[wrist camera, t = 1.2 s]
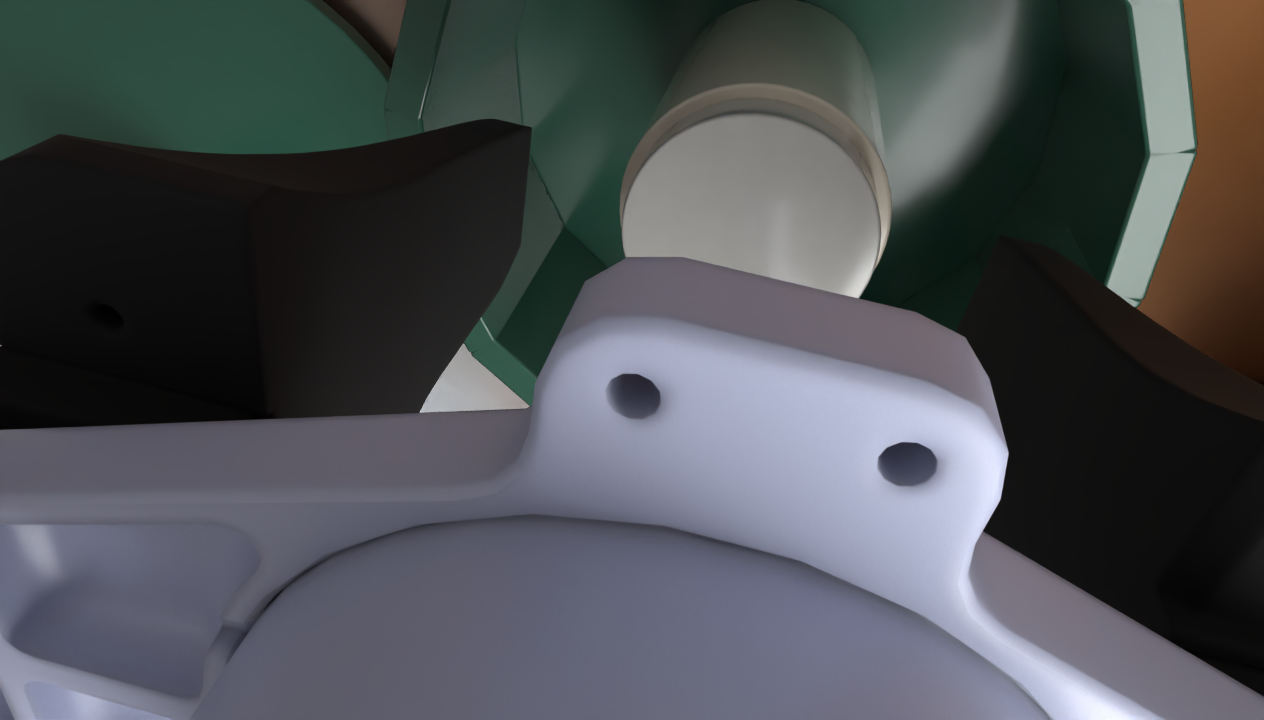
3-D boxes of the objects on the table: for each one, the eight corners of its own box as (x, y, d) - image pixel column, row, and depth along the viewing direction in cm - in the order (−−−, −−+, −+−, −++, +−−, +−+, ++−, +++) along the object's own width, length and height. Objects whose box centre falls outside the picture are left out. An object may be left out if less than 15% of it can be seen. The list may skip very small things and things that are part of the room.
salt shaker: (861, 203, 20) (873, 372, 14) (672, 191, 21) (611, 347, 15) (890, 1, 18) (917, 106, 12) (675, -5, 18) (603, 92, 13)
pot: (1010, 363, 22) (1062, 530, 17) (520, 319, 24) (441, 456, 19) (1185, -265, 15) (1359, -287, 10) (465, -250, 17) (317, -262, 12)
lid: (496, 425, 27) (426, 560, 22) (98, 381, 29) (-40, 494, 24) (434, -75, 19) (307, -29, 14) (-101, -83, 21) (-358, -45, 17)
